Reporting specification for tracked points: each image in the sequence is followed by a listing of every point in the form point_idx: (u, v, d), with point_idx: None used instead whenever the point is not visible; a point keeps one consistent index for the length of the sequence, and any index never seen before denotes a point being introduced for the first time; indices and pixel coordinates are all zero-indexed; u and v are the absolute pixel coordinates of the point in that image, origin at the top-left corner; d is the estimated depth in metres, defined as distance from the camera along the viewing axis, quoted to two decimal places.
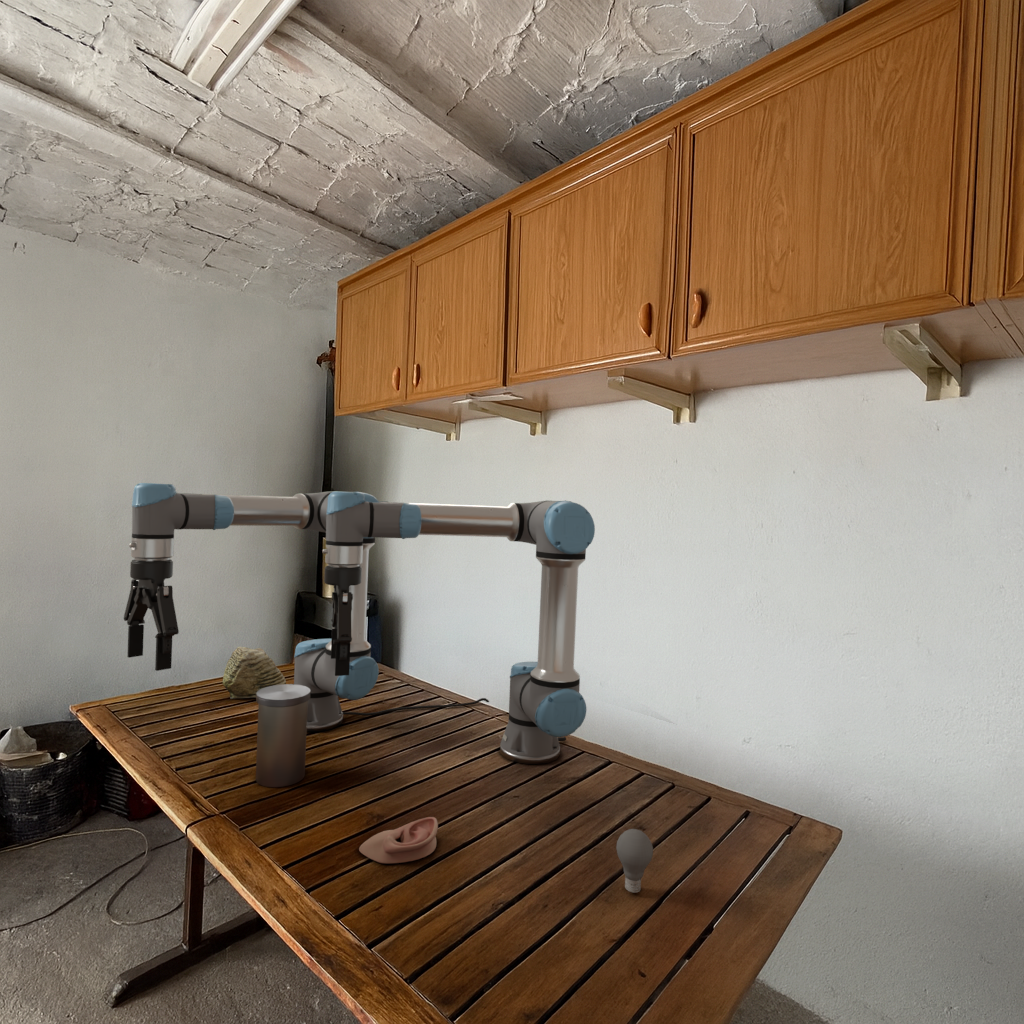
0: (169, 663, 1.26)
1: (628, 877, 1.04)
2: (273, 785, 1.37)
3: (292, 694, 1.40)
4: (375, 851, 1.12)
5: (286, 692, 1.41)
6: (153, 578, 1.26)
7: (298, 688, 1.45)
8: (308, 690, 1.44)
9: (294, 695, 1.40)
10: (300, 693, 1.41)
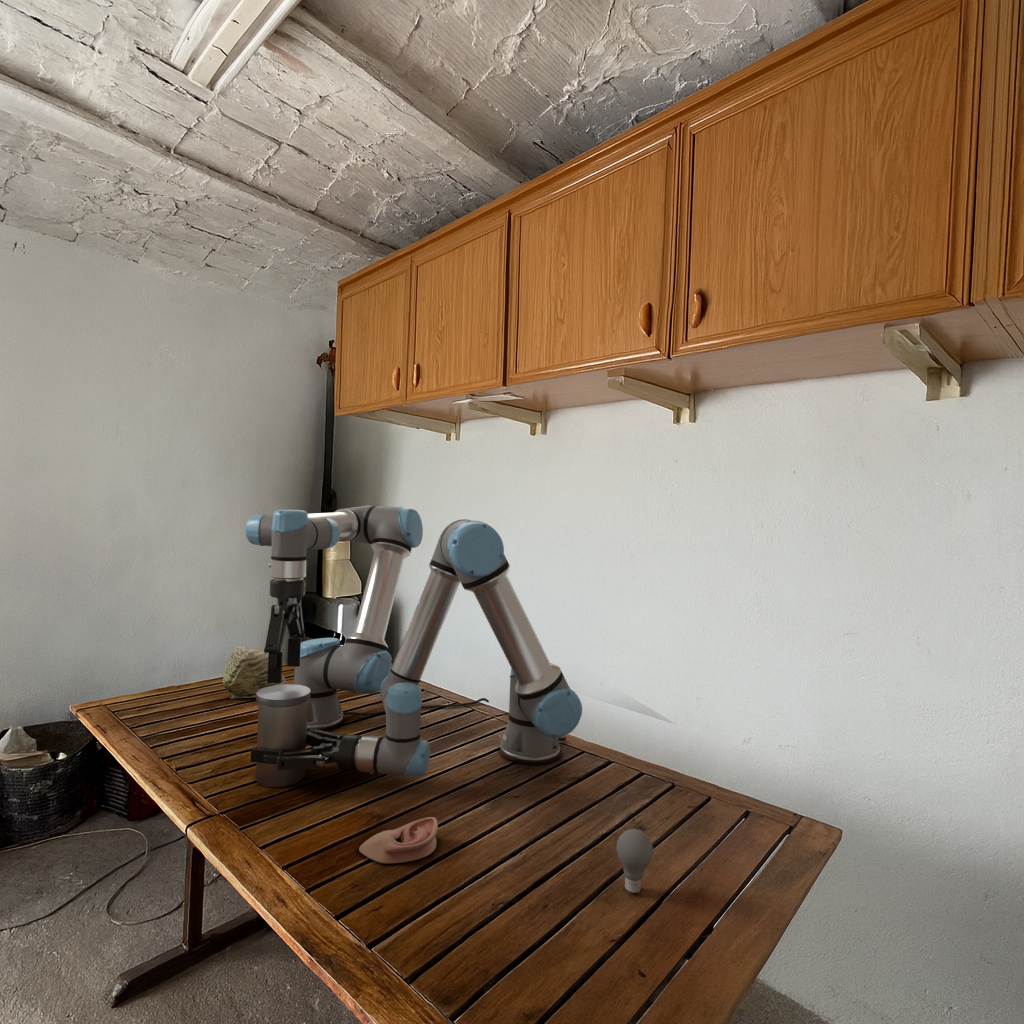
0: (278, 678, 1.35)
1: (628, 877, 1.04)
2: (273, 785, 1.37)
3: (292, 694, 1.40)
4: (375, 851, 1.12)
5: (286, 692, 1.41)
6: (277, 596, 1.38)
7: (298, 688, 1.45)
8: (308, 690, 1.44)
9: (294, 695, 1.40)
10: (300, 693, 1.41)
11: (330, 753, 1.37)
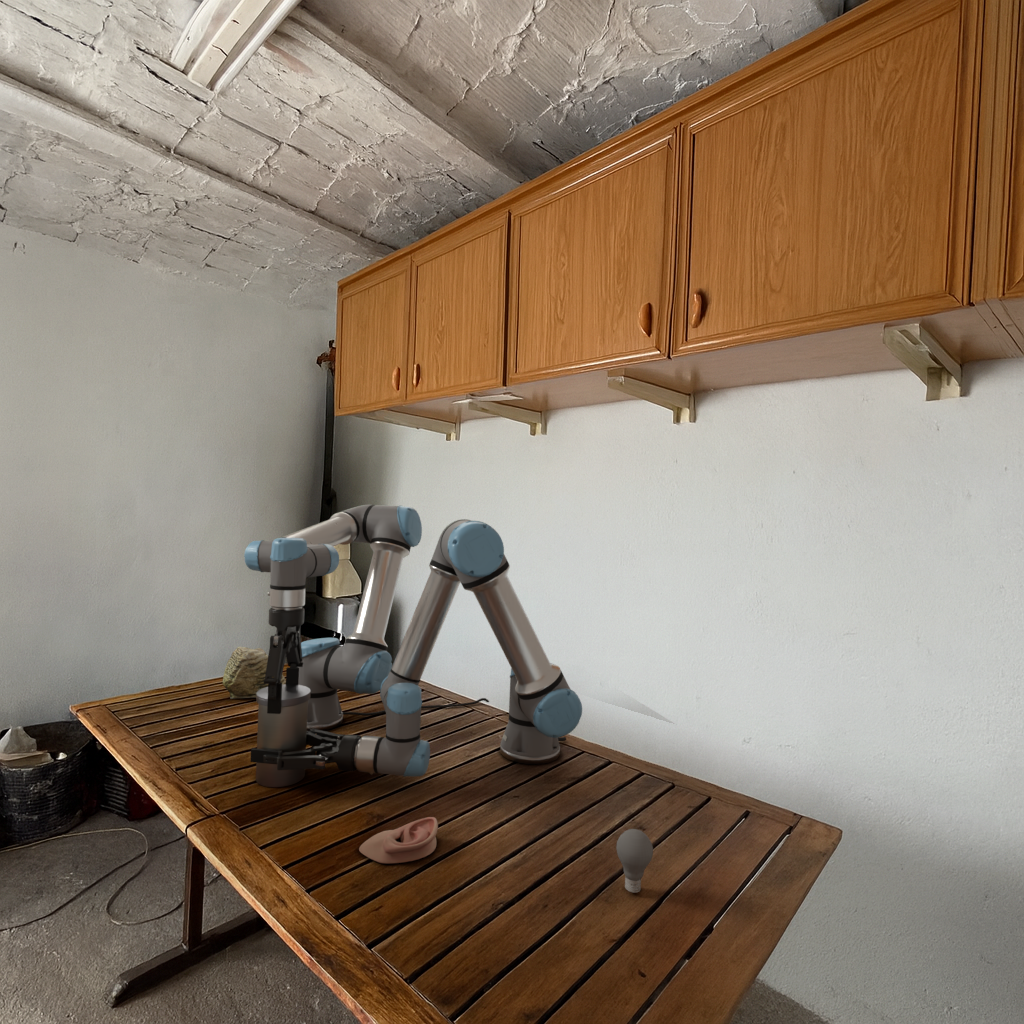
0: (278, 708, 1.36)
1: (628, 877, 1.04)
2: (273, 785, 1.37)
3: (292, 694, 1.40)
4: (375, 851, 1.12)
5: (286, 692, 1.41)
6: (276, 625, 1.38)
7: (298, 688, 1.45)
8: (308, 690, 1.44)
9: (294, 695, 1.40)
10: (300, 693, 1.41)
11: (330, 753, 1.37)
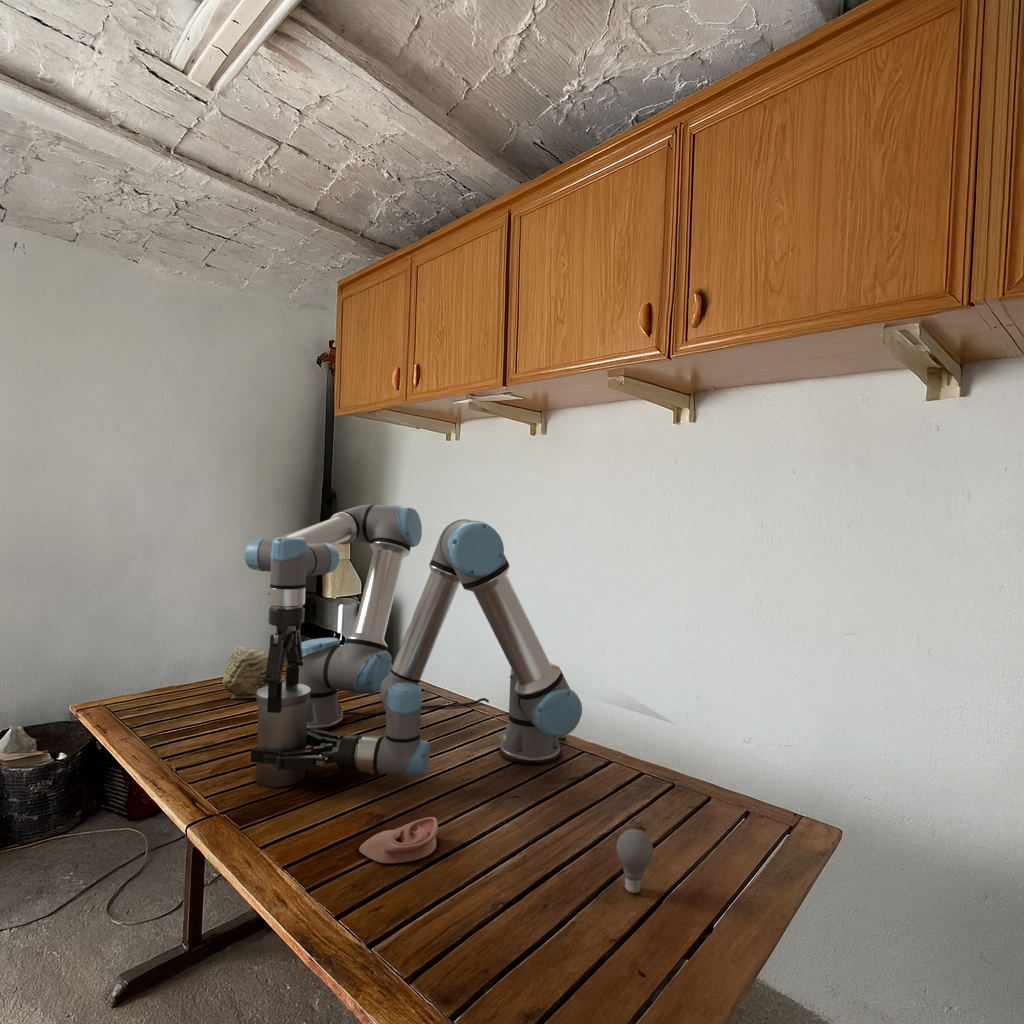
0: (278, 708, 1.36)
1: (628, 877, 1.04)
2: (273, 785, 1.37)
3: (295, 687, 1.44)
4: (375, 851, 1.12)
5: (287, 689, 1.43)
6: (276, 624, 1.38)
7: None
8: (286, 683, 1.47)
9: (299, 687, 1.45)
10: (293, 685, 1.46)
11: (330, 753, 1.37)
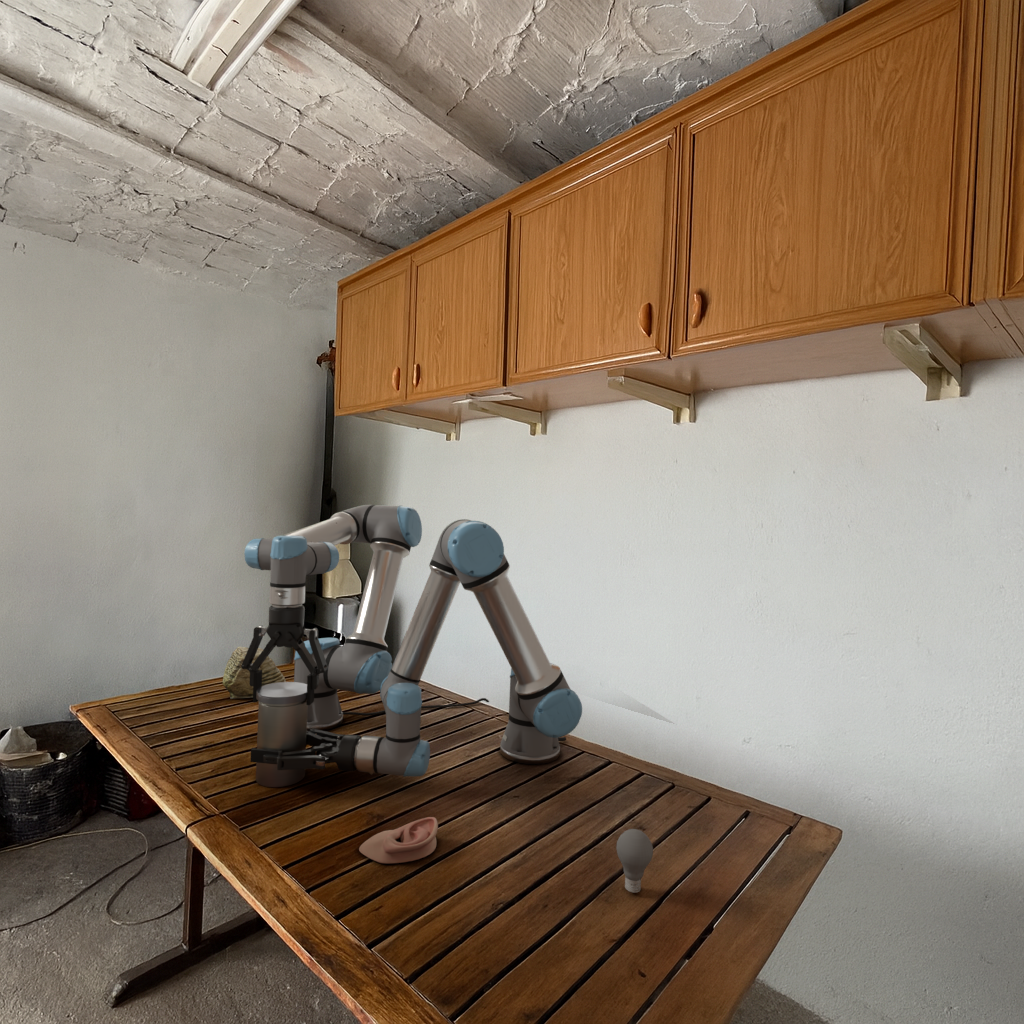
0: (313, 697, 1.43)
1: (628, 877, 1.04)
2: (273, 785, 1.37)
3: (277, 686, 1.44)
4: (375, 851, 1.12)
5: (281, 688, 1.43)
6: (300, 622, 1.40)
7: (267, 691, 1.40)
8: (259, 689, 1.41)
9: (275, 685, 1.45)
10: (268, 687, 1.43)
11: (330, 753, 1.37)
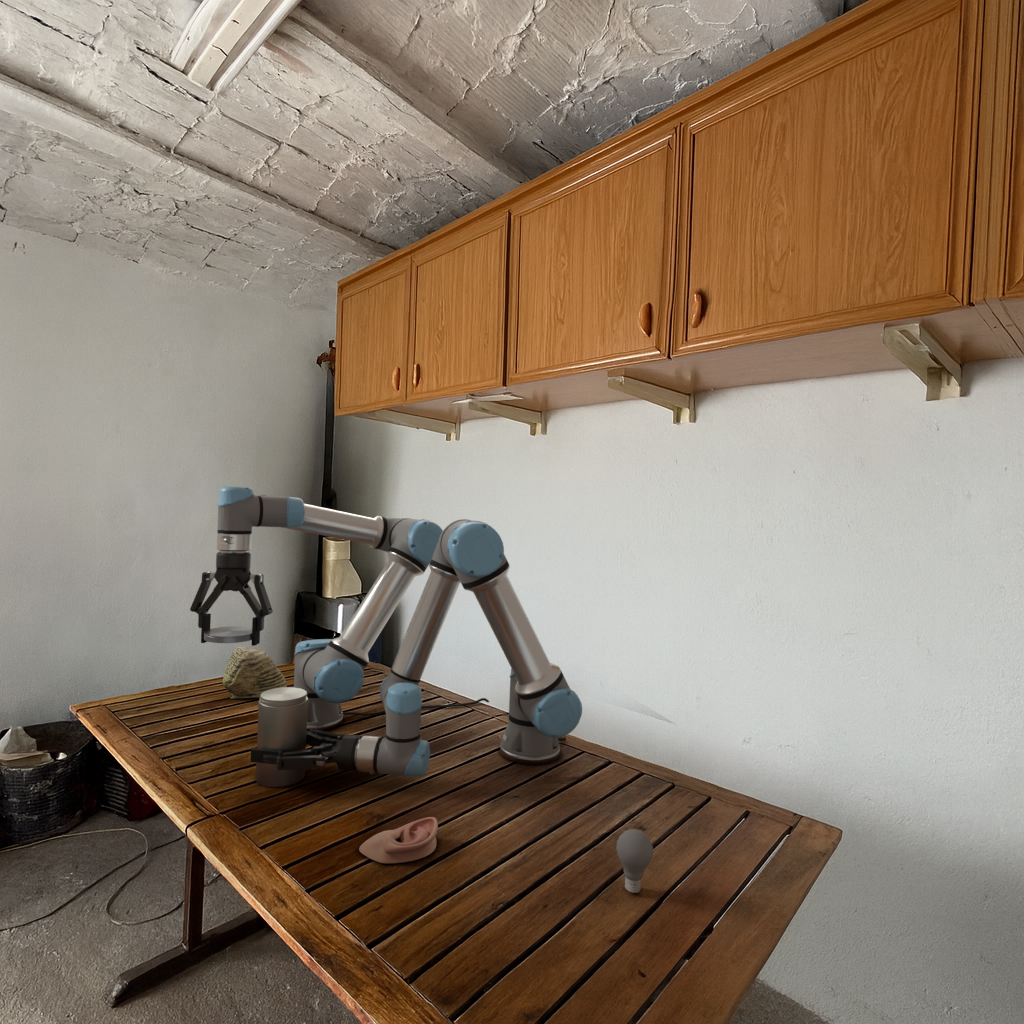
0: (259, 639, 1.51)
1: (628, 877, 1.04)
2: (273, 785, 1.37)
3: (225, 629, 1.52)
4: (375, 851, 1.12)
5: (228, 630, 1.51)
6: (246, 567, 1.49)
7: (214, 632, 1.48)
8: (207, 630, 1.49)
9: (224, 628, 1.53)
10: (216, 629, 1.51)
11: (330, 753, 1.37)
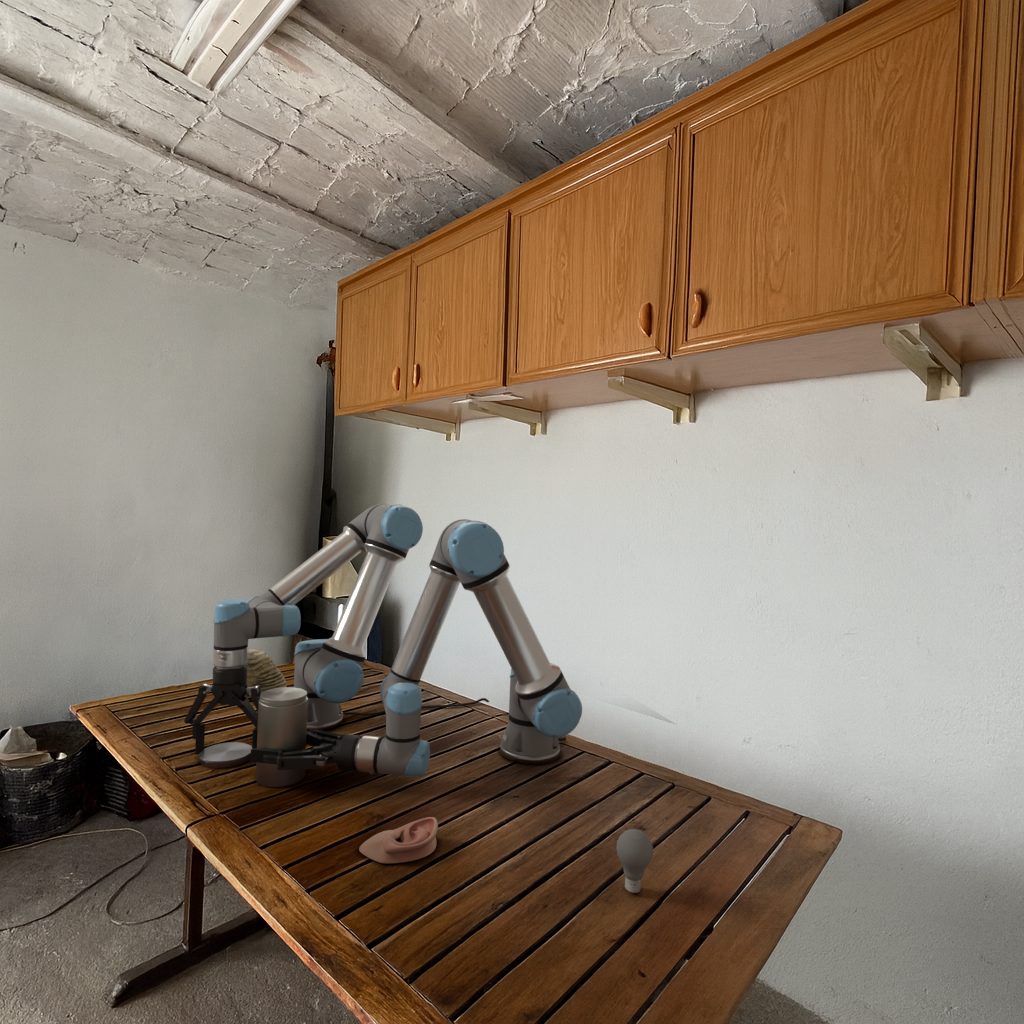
0: None
1: (628, 877, 1.04)
2: (273, 785, 1.37)
3: (220, 747, 1.53)
4: (375, 851, 1.12)
5: (224, 750, 1.51)
6: (242, 682, 1.50)
7: (210, 755, 1.48)
8: (202, 752, 1.50)
9: (219, 746, 1.54)
10: (212, 748, 1.52)
11: (330, 753, 1.37)
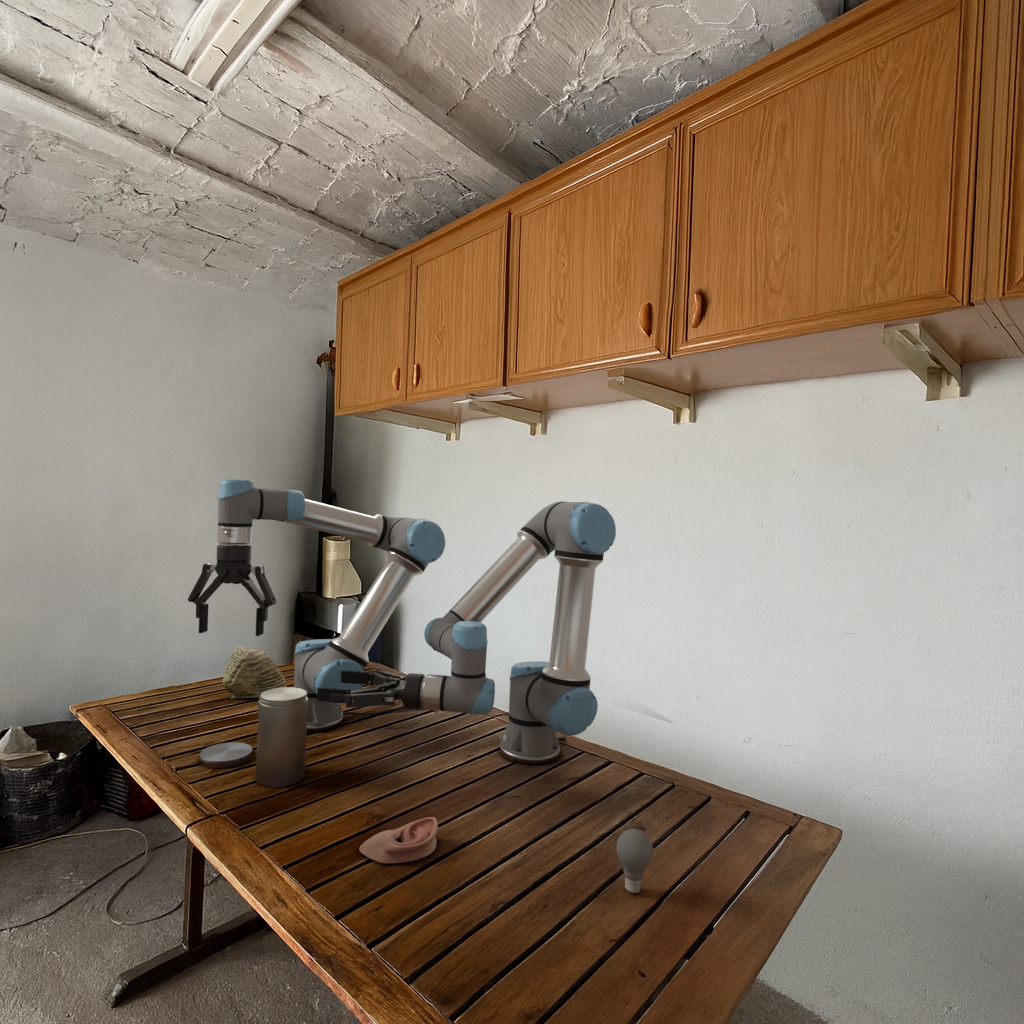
0: (262, 629, 1.51)
1: (628, 877, 1.04)
2: (273, 785, 1.37)
3: (220, 747, 1.53)
4: (375, 851, 1.12)
5: (224, 750, 1.51)
6: (246, 560, 1.49)
7: (210, 755, 1.48)
8: (202, 752, 1.50)
9: (219, 746, 1.54)
10: (212, 748, 1.52)
11: (396, 690, 1.36)
